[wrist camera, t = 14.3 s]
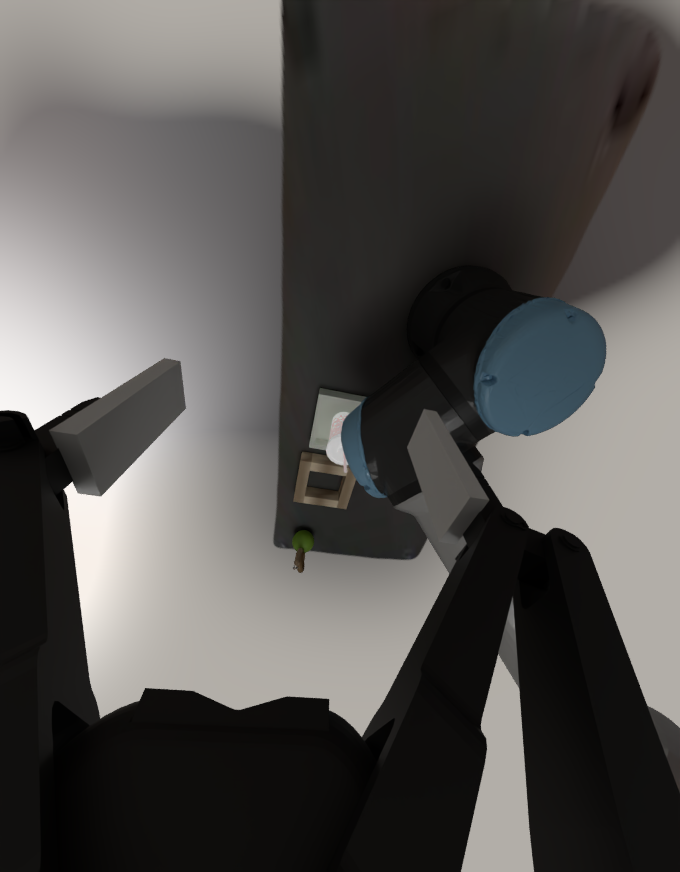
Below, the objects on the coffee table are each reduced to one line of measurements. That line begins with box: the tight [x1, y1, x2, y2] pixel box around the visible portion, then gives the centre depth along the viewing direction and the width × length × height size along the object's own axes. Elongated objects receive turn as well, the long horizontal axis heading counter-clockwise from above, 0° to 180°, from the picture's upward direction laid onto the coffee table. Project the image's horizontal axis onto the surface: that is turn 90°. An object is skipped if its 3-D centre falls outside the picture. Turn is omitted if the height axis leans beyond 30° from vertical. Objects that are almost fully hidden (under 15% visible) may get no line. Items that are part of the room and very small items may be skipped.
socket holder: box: [293, 451, 356, 509], centre depth 60 cm, size 12×12×3 cm
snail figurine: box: [292, 530, 314, 573], centre depth 67 cm, size 5×6×12 cm
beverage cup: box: [326, 412, 349, 473], centre depth 46 cm, size 6×6×14 cm
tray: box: [309, 388, 366, 450], centre depth 52 cm, size 12×12×2 cm
